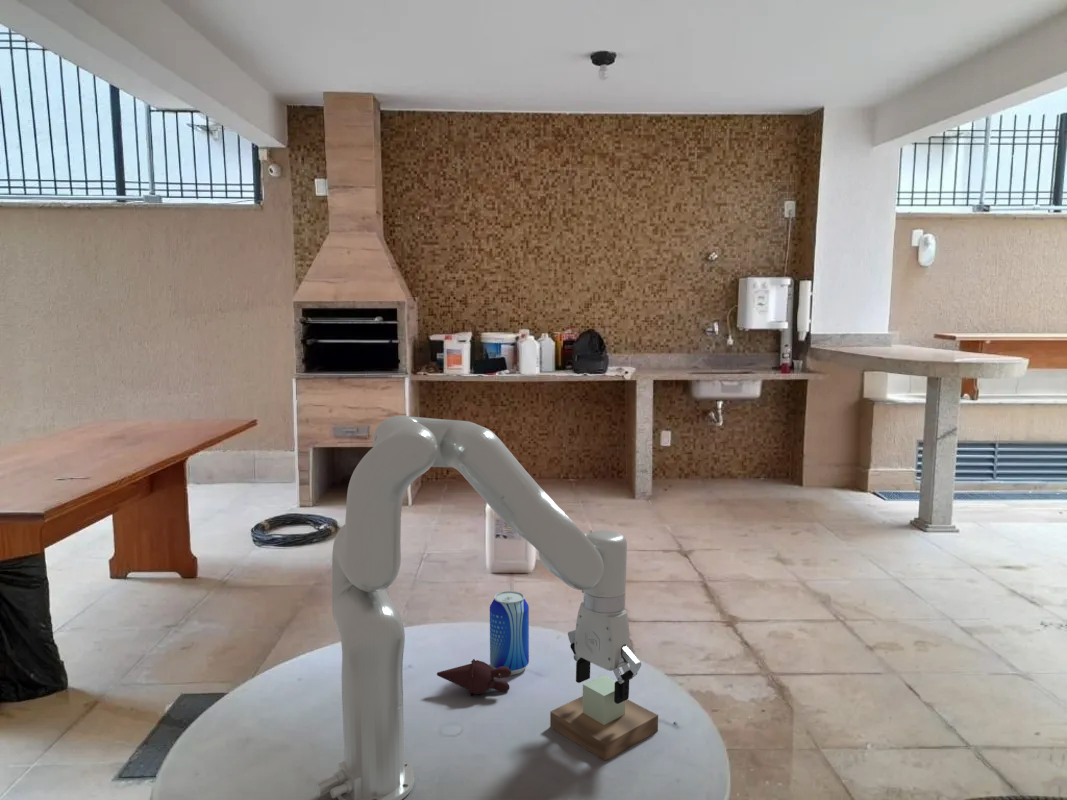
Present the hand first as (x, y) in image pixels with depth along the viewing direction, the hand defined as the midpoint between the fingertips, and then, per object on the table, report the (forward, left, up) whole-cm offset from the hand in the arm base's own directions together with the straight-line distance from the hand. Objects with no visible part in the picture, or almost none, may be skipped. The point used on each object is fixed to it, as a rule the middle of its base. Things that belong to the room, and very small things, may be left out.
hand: (601, 690), depth 134 cm
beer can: (+3, +30, -8) cm, 31 cm away
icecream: (-10, +26, -8) cm, 29 cm away
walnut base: (+1, 0, -8) cm, 8 cm away
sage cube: (0, 0, -5) cm, 5 cm away
